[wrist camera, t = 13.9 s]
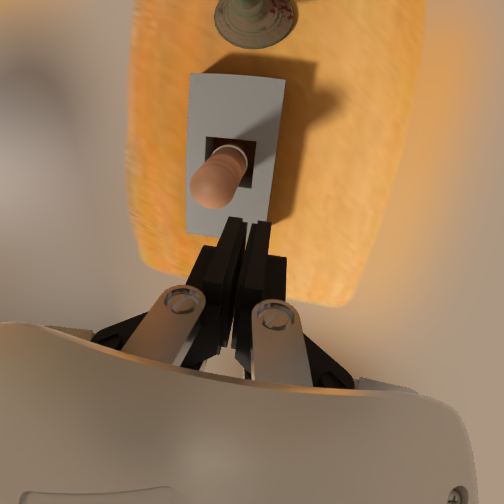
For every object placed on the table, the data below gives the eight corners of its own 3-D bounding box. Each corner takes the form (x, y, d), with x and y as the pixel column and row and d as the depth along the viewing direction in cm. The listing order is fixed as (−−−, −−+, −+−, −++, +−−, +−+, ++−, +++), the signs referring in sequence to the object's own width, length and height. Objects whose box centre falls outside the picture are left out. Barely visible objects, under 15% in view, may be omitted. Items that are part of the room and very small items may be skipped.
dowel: (219, 136, 33) (189, 163, 23) (253, 139, 33) (237, 167, 23) (217, 167, 35) (188, 207, 25) (250, 171, 35) (234, 212, 25)
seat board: (201, 73, 29) (190, 73, 25) (285, 80, 28) (285, 79, 25) (194, 218, 40) (186, 233, 37) (265, 228, 40) (263, 244, 36)
